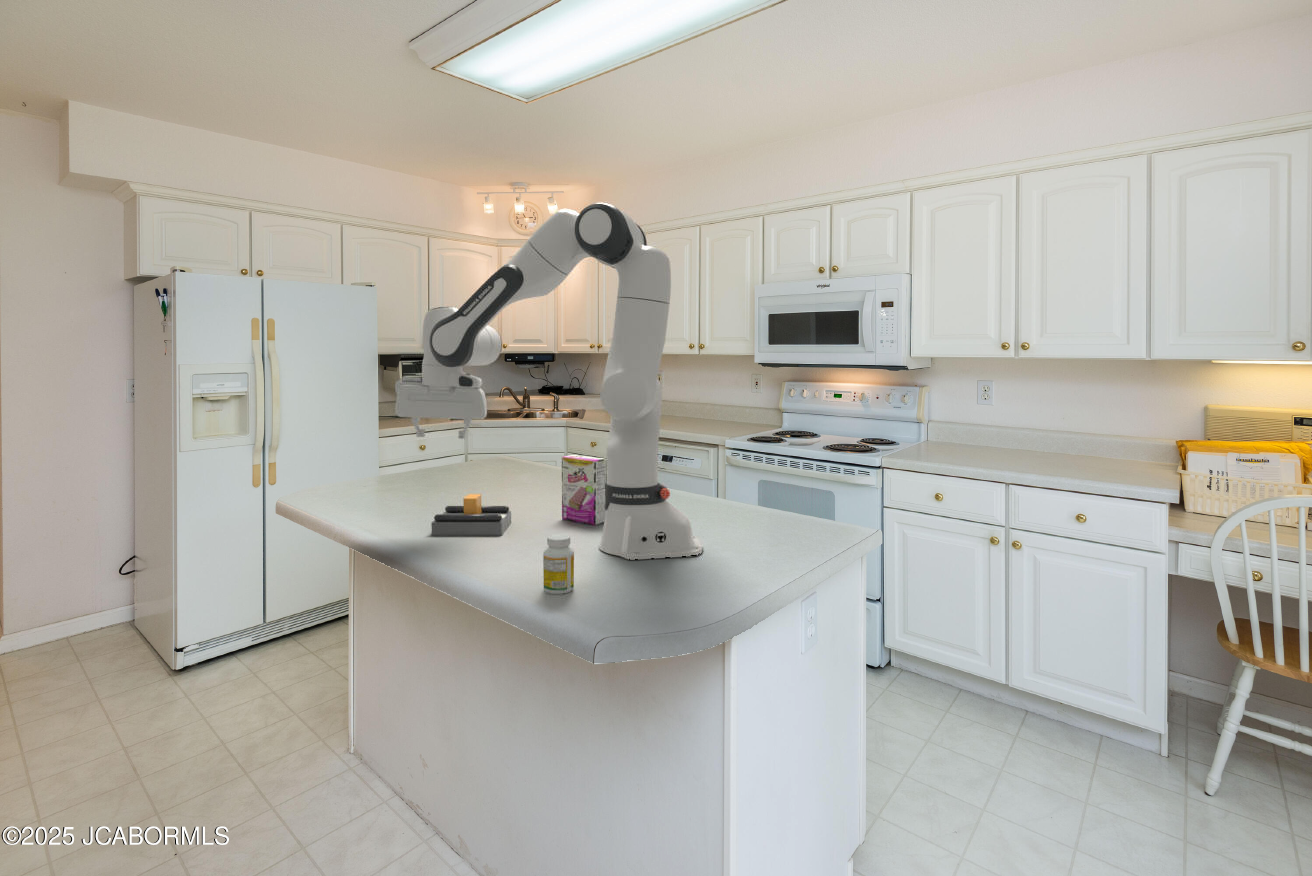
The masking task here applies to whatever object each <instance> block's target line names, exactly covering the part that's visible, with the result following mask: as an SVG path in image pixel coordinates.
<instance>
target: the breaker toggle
mask: <svg viewBox="0 0 1312 876" xmlns="http://www.w3.org/2000/svg"><path fill="white" fill-rule="evenodd" d="M462 499H463V503H462V504H463V506H464V514H480V513H481V512H482V511H481V506H482V494H480V493H477V494H476V493H473V494H472V493H469V494H466V496H464V497H463V498H462Z"/></svg>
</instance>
